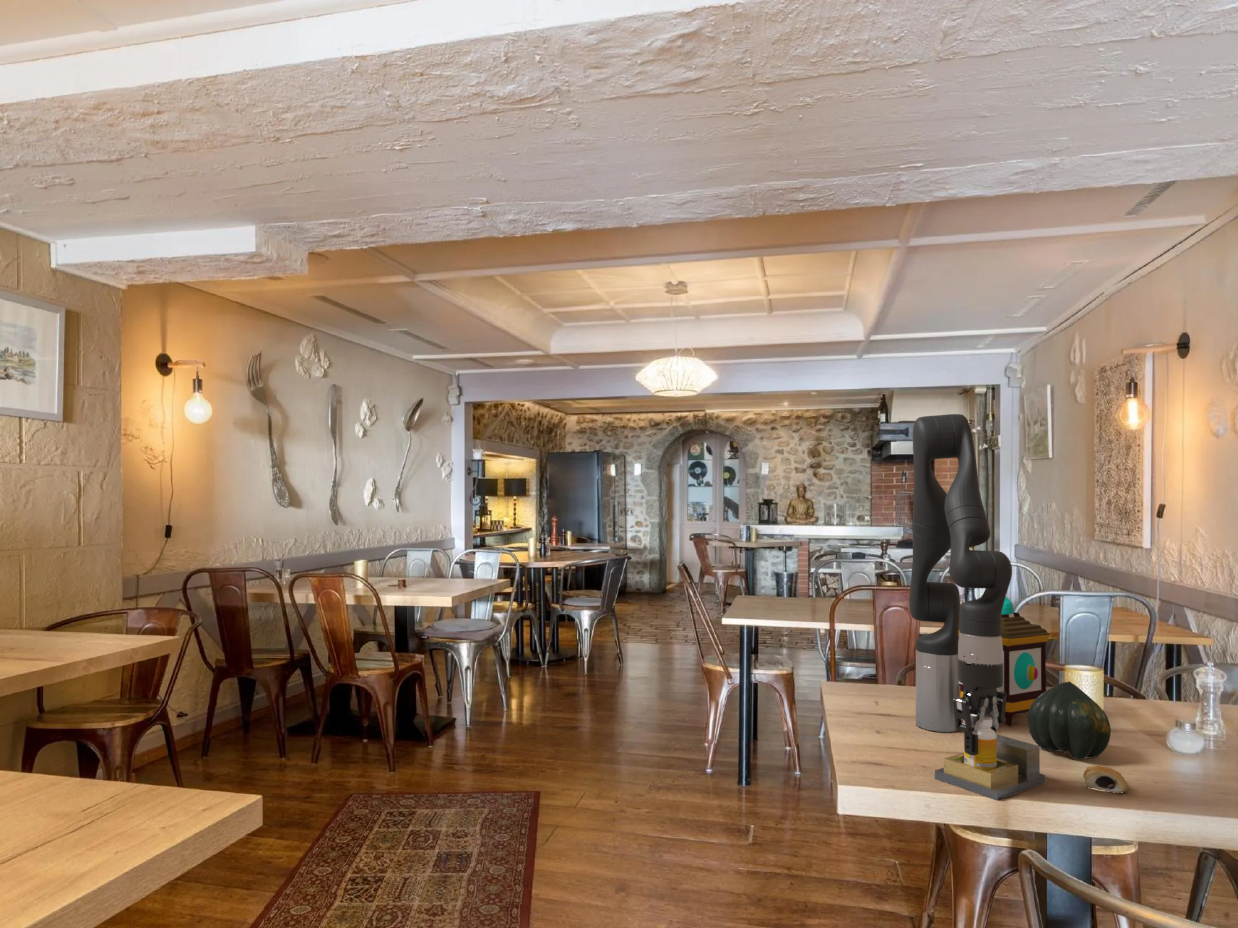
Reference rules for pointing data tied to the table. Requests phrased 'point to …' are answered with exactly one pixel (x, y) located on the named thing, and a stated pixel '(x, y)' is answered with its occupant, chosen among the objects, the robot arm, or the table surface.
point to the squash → (1069, 722)
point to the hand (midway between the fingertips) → (980, 750)
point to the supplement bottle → (984, 747)
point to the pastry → (1104, 779)
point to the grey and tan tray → (997, 770)
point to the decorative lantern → (1020, 662)
